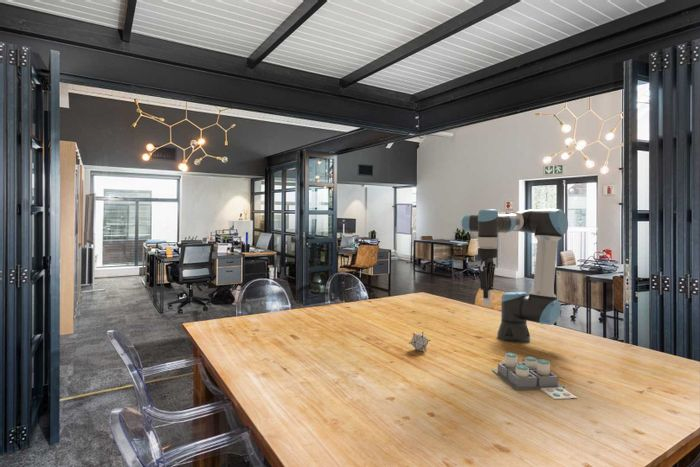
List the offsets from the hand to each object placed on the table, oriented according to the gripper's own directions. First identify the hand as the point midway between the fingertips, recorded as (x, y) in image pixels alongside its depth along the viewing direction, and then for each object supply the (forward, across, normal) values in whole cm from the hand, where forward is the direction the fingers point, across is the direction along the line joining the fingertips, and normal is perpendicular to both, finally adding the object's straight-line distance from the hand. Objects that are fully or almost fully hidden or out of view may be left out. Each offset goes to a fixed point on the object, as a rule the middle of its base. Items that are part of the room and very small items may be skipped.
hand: (486, 305), depth 162 cm
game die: (+25, +1, -30) cm, 39 cm away
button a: (+23, +10, +17) cm, 30 cm away
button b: (+21, +4, +11) cm, 24 cm away
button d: (+23, -1, +17) cm, 29 cm away
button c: (+21, +4, +22) cm, 31 cm away
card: (+24, +11, +29) cm, 39 cm away
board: (+24, +4, +17) cm, 30 cm away
